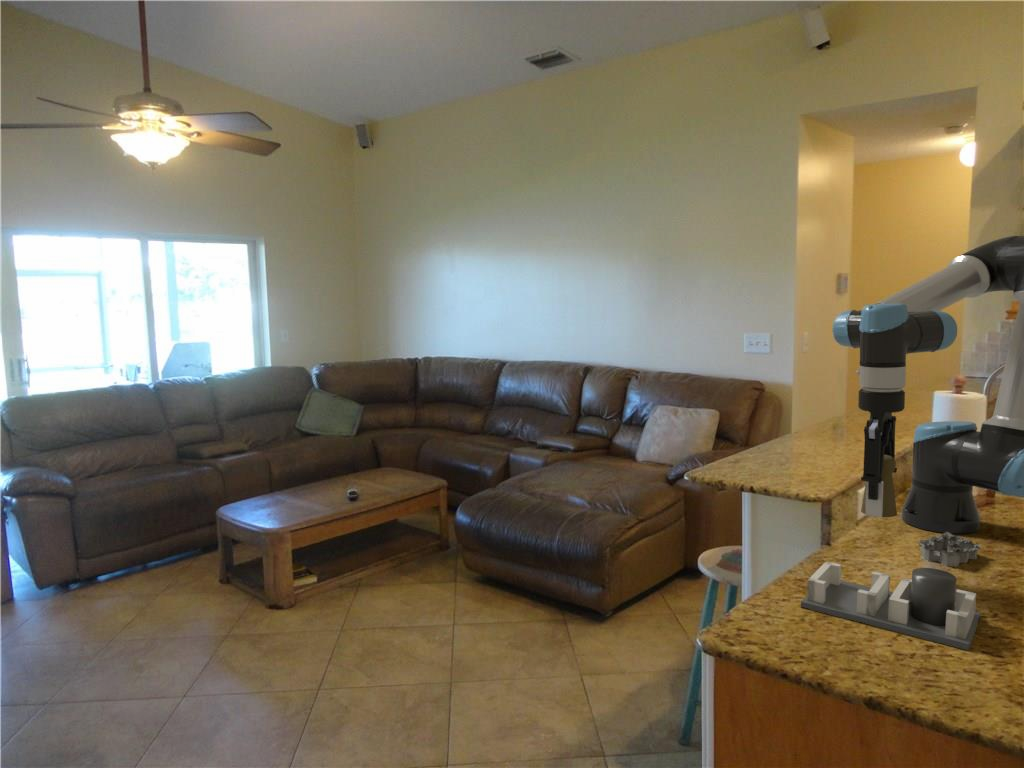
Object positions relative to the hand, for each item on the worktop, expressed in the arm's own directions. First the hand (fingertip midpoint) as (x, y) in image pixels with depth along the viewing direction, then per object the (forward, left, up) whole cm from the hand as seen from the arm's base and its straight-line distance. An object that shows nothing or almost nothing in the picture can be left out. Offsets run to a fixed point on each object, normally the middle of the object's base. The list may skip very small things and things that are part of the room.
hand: (878, 510), depth 131 cm
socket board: (+17, +6, -12) cm, 22 cm away
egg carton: (-16, +10, -12) cm, 22 cm away
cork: (0, 0, -1) cm, 1 cm away
